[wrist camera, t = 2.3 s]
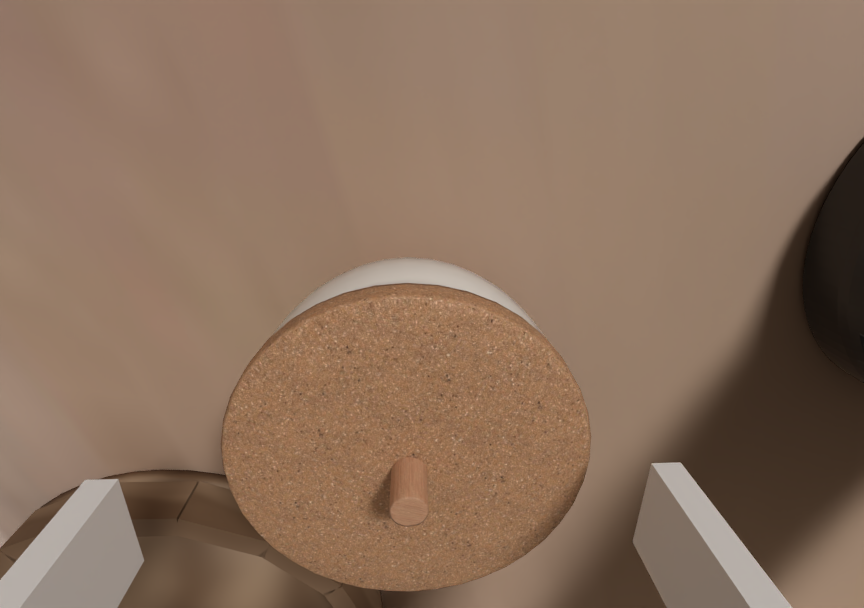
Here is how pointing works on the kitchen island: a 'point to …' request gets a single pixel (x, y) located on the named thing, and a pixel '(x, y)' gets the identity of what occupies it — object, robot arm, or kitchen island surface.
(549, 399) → the lidded jar
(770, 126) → the kitchen island surface
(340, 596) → the walnut tray
